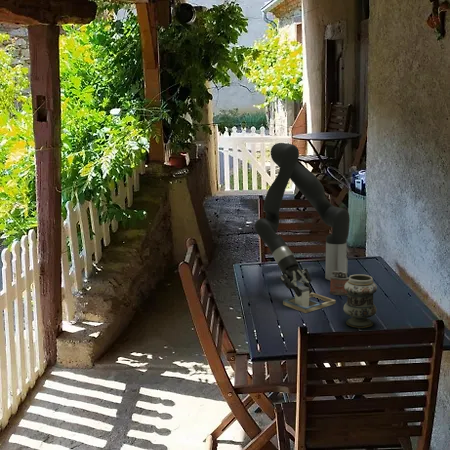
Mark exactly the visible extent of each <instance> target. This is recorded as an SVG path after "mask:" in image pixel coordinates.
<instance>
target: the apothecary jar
mask: <svg viewBox="0 0 450 450" xmlns="http://www.w3.org/2000/svg"><path fill="white" fill-rule="evenodd" d="M344 288H345V290H346V291H347V293H348V295H346V297H347V300H346V302H345V304H344V305H343V307H342V308H343V312H344V313H345V314H346V315H347V316H349V317H351V318H348V319H346V325H348V326H350V327H352V328H357V329H366V328H370V327H372V326H373V325H374V322H373V320H371V319H370V318H371V317H373V316H374V315H375V314H376V313H377V310H378V309H377V307H376V304H374V293H376V292H377V290H378V286H377V284H376V283H375V282H374V280H373V277H372V276H371V275H368V274H363V273H362V274H352V275H351V274H350V275H349V280H348V282H346V283H345V286H344Z"/></svg>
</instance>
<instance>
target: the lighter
mask: <svg viewBox="0 0 450 450" xmlns="http://www.w3.org/2000/svg"><path fill="white" fill-rule="evenodd" d="M332 274H334V275H335V276H330V279H331V280H329V281H330V285H329V286H330V287H329V289H330V290H329V294H330V295H334V296H335V295H336V296H347V295H348V293H347V291H346V290H345V288H344V286H345V283H346V282H348V280H349V277H350V276H349V277H348V276H347V277H346V272H342V271H340V272H338V271H332ZM337 275H338V276H337ZM343 275H344V276H343Z"/></svg>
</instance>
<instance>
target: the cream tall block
mask: <svg viewBox="0 0 450 450" xmlns="http://www.w3.org/2000/svg"><path fill="white" fill-rule="evenodd" d="M297 287H298V288H299V289H300V291H301V293H302V295H301V296H300V297H298V296H297V295H296V294H295V293H294V297H295V302H294V303H295V304H298V305H301V306H303V307H309V306H310V305H309V299H310V298H309V287H306V286H304V285H303V284H302V285H300V286H299V285H297Z"/></svg>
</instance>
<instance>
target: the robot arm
mask: <svg viewBox="0 0 450 450" xmlns="http://www.w3.org/2000/svg"><path fill="white" fill-rule="evenodd" d="M299 156H300V151H299V148H298V147H297V146H296V145H294V144H293V143H286V142H277V143H275V144H273V145H272V146H271V149H270V157H271V160H272V161H273V163H274V164H276V166H277V167H279V170H278V173H277V175H276V178H275V179H274V181H273V182H272V183H271V185H270V187H269V188H268V190H267V192H266V196H265V199H264V202H263V207H262V209H263V212H265V217H263V218H259V219H258V220H256V222H255V224H254V226H255V232H256V234H257V235H258V236H259V238H260V239H261V240H262V241H263V243H265V244H266V246H267V247H268V249H269V251H270V253H271V254H272V256H273V259H274V260H275V263H276V264H277V266H278V268H279V270H280V271H281V272H282V275H281V276H280V277H279V279H280V281H281V282H282V283H283V284H284V286H285V287H286V288H287V289H288V290H290V289H291V290H293V292H294V295H295V294H296V295H297V296H298V297H300V296H301V295H302V293H301V291H300V289H299V288H298V284H297V283H300V284H302V285H303V286H306V287H309V294H310V293H313V288H312V286H311V284H310V282H311V281H312V278H311V275H310V273H309V271H308V269H307V268H304V269H301V268H300V266H299V263H298V261H297V258H296V257H295V255H294V253H293V252H292V251H291V249H290V248H289V246H288V245H287V242H286V241H285V240H284V238H283V237H282V236H281V235H279V234H277V231H278V229H279V225H280V209H281V206H282V202H283V199H284V195H285V192H286V189H287V186H288V183H289V182H290V180H291V182H292V183H293V184H294V185H295V187H296V188H297V189H298V190H299V192H300V193H301V194H302V195H303V197H304V198H305V199H306V200H307V201H308V202H309V203H310V204H311V206H312V207H313V208H314V209H315V210H316V212H317V214H318V215H319V217H320V218H321V220H322V221H323V223H324V224H325V225H326V226H328V227H331V228H332V233H331V234H328V235H326V237H325V274H324V275H325V276H324V277H325V279H326V280H327V281H331V279H330V276H335V275H334V274H332V271H338V272H340V271H342V272H346V277H348V262H349V261H348V260H349V259H348V257H347V242H348V241H347V239H348V237H349V231H350V222H351V221H350V213H349V211H348V210H347V209H345V208H342V207H339V206H335V205H333V204H332V203H331V202H330V201H329V199H327V197H326V195H325V194H326V193H325V192H326V191H325V187H324V185H323V184H322V182H321V181H320V180H319V178H317V176H316V175H315V174H314V173H313V172H311V171H310V170H309V169H307V168H306V167H304V166H303V165H301V163H299V162H298V160H299ZM337 276H338V275H337ZM343 276H344V275H343Z"/></svg>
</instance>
